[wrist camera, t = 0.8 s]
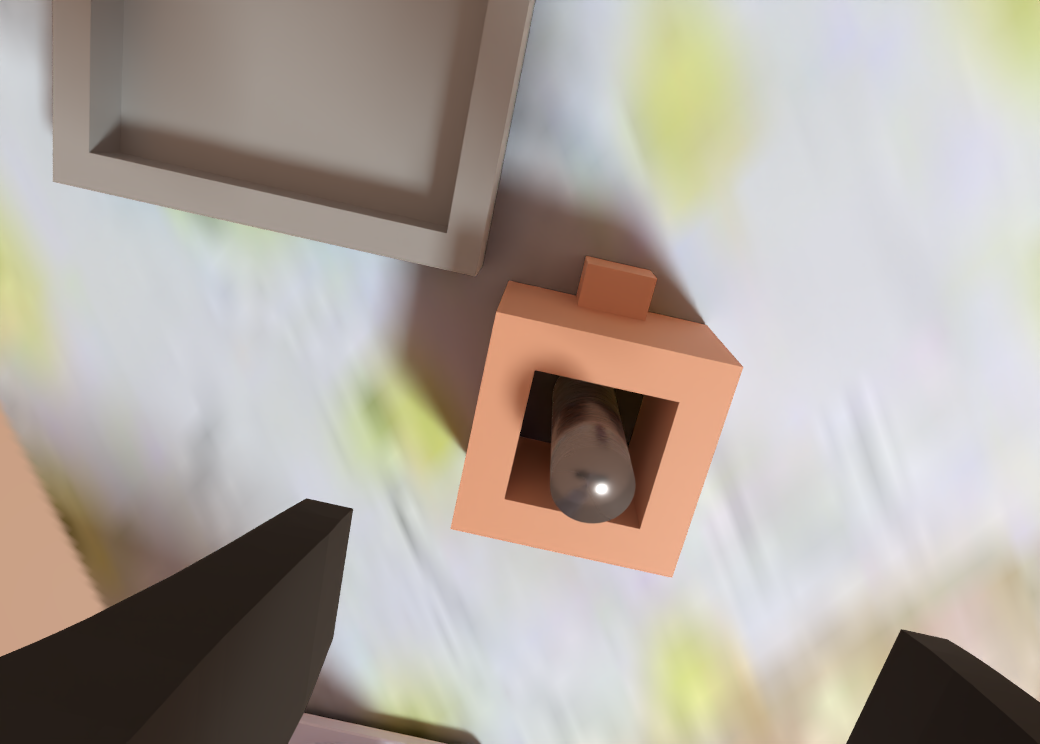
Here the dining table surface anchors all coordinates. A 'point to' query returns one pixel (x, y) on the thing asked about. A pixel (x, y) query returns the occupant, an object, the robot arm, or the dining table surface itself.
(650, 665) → the dining table surface
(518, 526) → the collar
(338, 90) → the slate tray
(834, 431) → the dining table surface
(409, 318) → the dining table surface
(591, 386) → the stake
